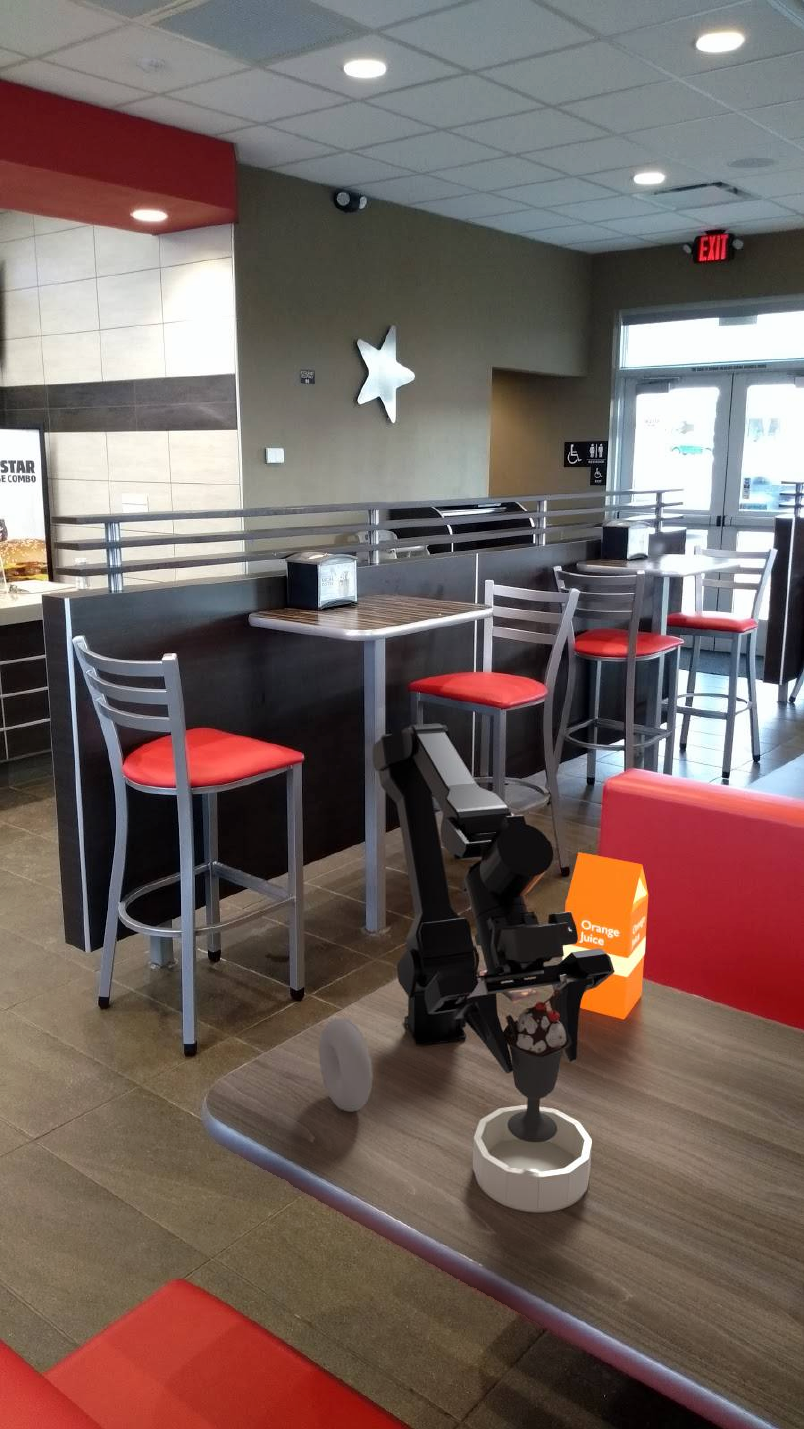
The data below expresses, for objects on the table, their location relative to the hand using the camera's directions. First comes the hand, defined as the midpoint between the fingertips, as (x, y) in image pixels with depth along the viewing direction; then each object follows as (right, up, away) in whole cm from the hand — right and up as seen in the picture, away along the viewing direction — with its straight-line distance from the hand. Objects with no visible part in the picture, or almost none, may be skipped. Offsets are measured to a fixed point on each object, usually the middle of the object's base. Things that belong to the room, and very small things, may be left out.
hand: (541, 1066), depth 104 cm
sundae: (-1, -7, +3) cm, 8 cm away
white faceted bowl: (-1, -12, +4) cm, 13 cm away
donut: (-20, -9, +15) cm, 27 cm away
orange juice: (+13, -4, +40) cm, 42 cm away
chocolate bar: (+1, -3, +44) cm, 44 cm away
